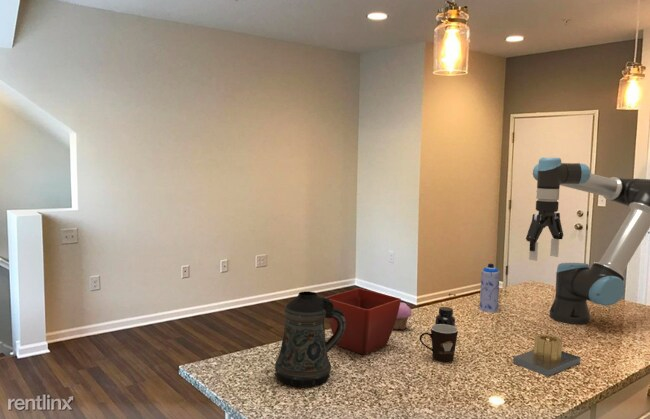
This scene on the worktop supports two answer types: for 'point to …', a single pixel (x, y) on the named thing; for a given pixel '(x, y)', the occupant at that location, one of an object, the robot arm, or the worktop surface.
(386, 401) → the worktop surface
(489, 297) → the aerosol can
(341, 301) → the plant pot
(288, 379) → the beer stein
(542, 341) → the ring
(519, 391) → the worktop surface
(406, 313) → the cupcake
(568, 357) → the shaft stand
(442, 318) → the supplement bottle
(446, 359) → the coffee mug
